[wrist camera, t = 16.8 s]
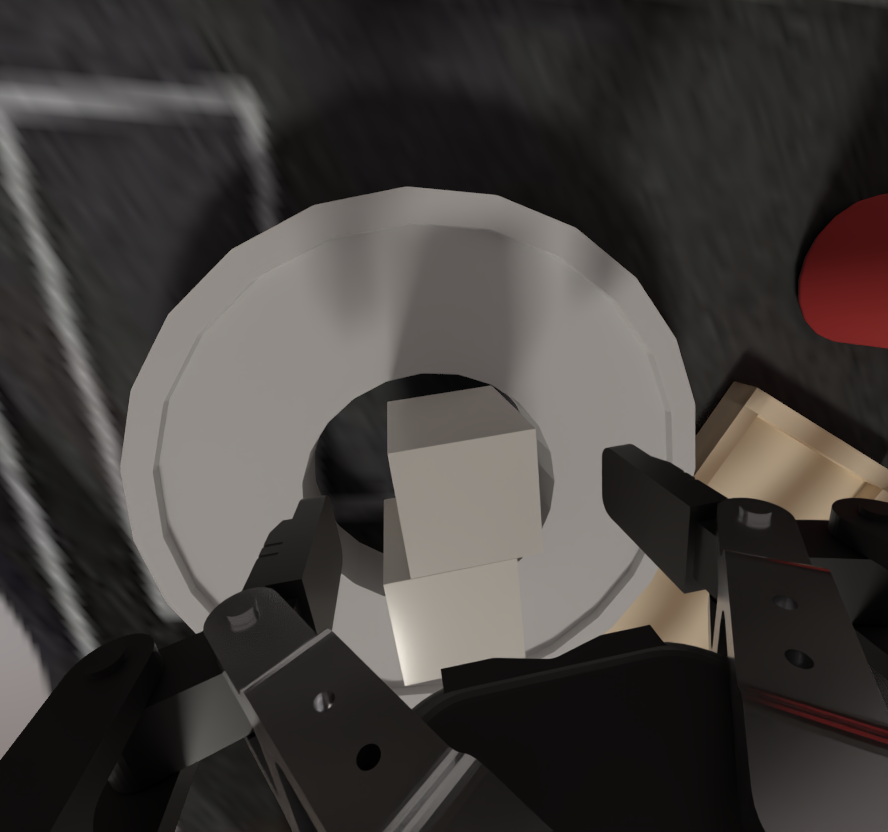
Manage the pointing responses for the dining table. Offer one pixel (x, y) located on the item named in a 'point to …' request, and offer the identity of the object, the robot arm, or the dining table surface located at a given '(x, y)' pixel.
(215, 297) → the ashtray
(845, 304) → the beer can
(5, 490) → the dining table surface
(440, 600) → the stone block
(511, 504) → the stone block
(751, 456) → the tray
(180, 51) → the dining table surface
